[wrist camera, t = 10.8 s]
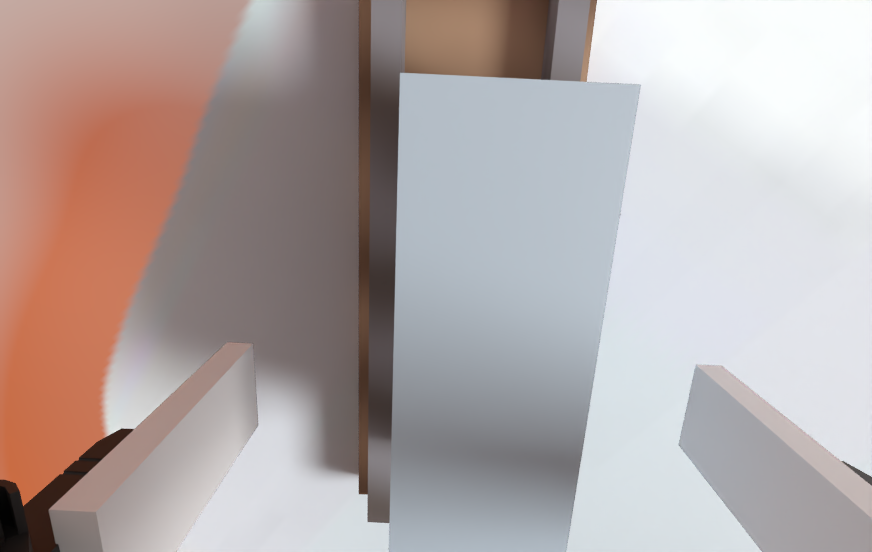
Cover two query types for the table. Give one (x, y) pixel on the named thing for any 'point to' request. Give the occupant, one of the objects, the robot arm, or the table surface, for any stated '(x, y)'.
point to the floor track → (378, 153)
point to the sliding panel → (499, 303)
